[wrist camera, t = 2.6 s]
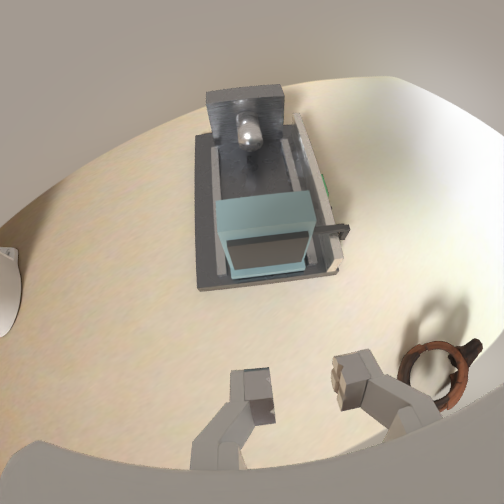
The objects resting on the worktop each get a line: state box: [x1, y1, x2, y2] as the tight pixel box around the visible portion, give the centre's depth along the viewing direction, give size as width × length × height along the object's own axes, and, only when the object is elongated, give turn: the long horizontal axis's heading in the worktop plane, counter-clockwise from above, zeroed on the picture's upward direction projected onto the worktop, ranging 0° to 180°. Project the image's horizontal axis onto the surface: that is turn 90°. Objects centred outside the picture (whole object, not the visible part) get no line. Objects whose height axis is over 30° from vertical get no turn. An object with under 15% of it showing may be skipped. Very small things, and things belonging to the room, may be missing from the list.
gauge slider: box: [216, 190, 350, 279], centre depth 27 cm, size 5×13×9 cm, turn 96°
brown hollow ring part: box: [397, 338, 483, 412], centre depth 24 cm, size 12×10×8 cm
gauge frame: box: [195, 84, 344, 292], centre depth 32 cm, size 24×16×10 cm, turn 6°
